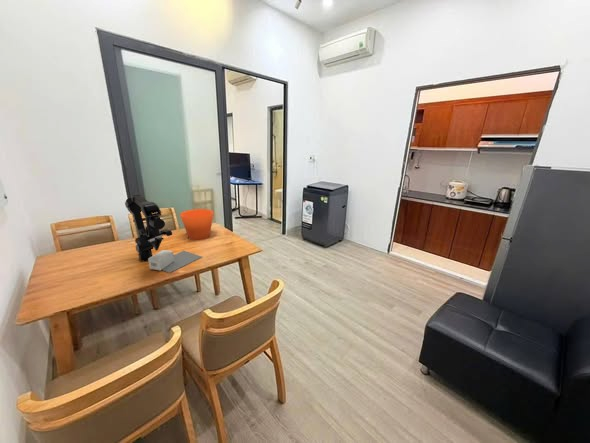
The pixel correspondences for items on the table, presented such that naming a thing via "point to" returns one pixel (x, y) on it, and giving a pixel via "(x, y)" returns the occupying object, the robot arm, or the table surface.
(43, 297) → the table surface
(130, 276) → the table surface
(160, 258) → the supplement box
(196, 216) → the flowerpot
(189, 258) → the mat
